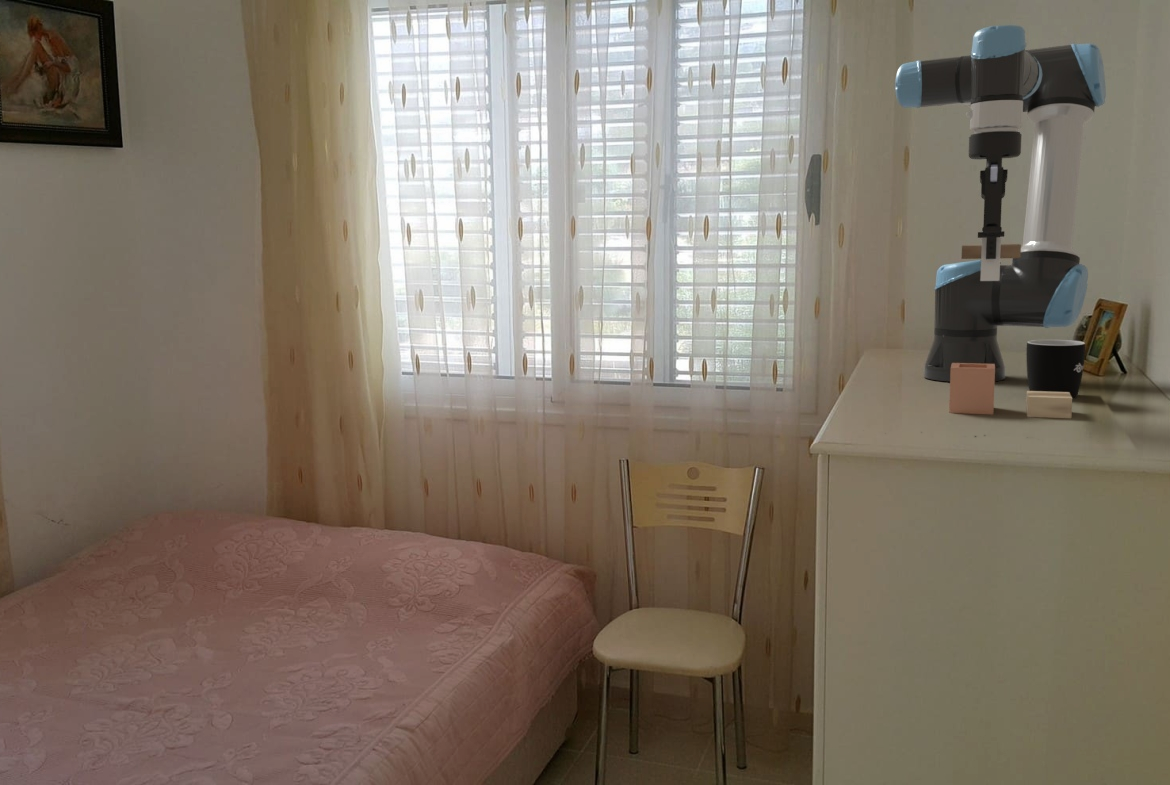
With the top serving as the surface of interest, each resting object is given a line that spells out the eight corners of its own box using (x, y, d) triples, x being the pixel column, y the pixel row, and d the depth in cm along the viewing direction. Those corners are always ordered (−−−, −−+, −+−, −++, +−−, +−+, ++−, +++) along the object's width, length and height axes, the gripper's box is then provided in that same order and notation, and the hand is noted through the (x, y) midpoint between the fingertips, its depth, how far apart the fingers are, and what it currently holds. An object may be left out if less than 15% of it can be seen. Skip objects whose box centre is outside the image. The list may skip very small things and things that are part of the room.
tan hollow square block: (950, 411, 164) (951, 362, 163) (992, 413, 162) (994, 363, 161) (948, 418, 159) (950, 367, 157) (993, 420, 156) (995, 369, 155)
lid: (962, 257, 165) (963, 245, 165) (1018, 256, 162) (1019, 244, 162) (961, 258, 157) (961, 245, 157) (1020, 258, 154) (1020, 244, 154)
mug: (1079, 407, 166) (1082, 345, 164) (1020, 404, 170) (1022, 344, 169) (1087, 397, 176) (1090, 338, 174) (1031, 393, 180) (1034, 337, 179)
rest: (1025, 416, 159) (1026, 390, 159) (1068, 417, 157) (1069, 392, 156) (1027, 422, 154) (1028, 396, 153) (1071, 424, 152) (1072, 398, 151)
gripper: (970, 138, 168) (965, 276, 171) (968, 127, 148) (962, 282, 152) (1019, 136, 165) (1014, 276, 168) (1023, 123, 145) (1017, 282, 149)
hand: (989, 279), depth 160 cm, fingers closed on lid, 8 cm apart
